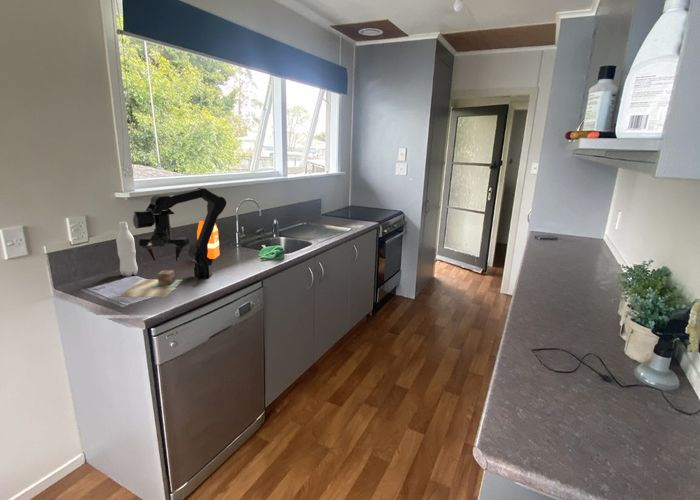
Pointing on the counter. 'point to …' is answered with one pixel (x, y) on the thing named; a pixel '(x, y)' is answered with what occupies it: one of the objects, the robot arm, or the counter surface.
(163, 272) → the walnut block
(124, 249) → the water bottle
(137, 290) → the birch board
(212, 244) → the orange juice
